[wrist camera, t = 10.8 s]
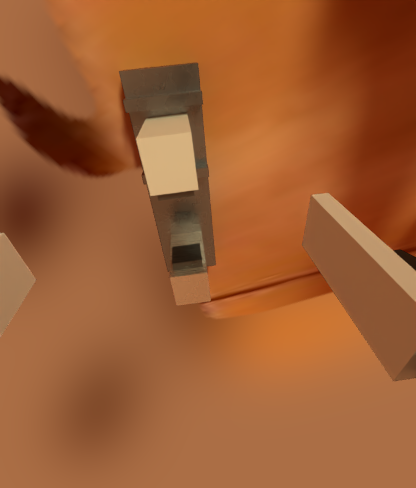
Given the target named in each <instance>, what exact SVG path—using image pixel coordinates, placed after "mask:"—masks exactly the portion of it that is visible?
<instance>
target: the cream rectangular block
mask: <svg viewBox="0 0 416 488" xmlns="http://www.w3.org/2000/svg"><path fill="white" fill-rule="evenodd" d="M136 141H137V145H138V149H139V153H140V157H141V161H142V165H143V169H144V173H145V177H146V181H147V184H148V188H149V192H150V196H155V195H157V197H158V201H161V200H168V199H176V198H183V197H191V196H194V190H199V189H198V182H197V174H196V166H195V158H194V150H193V142H192V134H191V129H190V124H189V120H188V115H187V113H181V114H174V115H166V116H158V117H150V118H146V119H145V121H144V124H143V126H142V128H141V130H140V132H139V134H138V136H137V138H136Z"/></svg>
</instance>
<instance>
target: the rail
mask: <svg viewBox="0 0 416 488" xmlns="http://www.w3.org/2000/svg"><path fill="white" fill-rule="evenodd" d="M119 74H120V78H121V82H122V86H123V90H124V94H125V99H124V100H123V103H124V107H125V111H126V113H129V115H130V119H131V123H132V127H133V131H134V135H135V139H136V138H137V136H138V134H139V132H140V130H141V128H142V126H143V124H144V121H145V119H146V118H150V117H158V116H166V115H174V114H181V113H187V115H188V120H189V124H190V129H191V134H192V142H193V150H194V158H195V166H196V174H197V182H198V189H199V190H194V196H191V197H183V198H176V199H168V200H161V201H158V197H157V195H155V196H150V192H149V188H148V184H147V181H146V177H145V173H144V169H143V173H142V178H143V183H144V184H147V188H148V192H149V196H150V201H151V205H152V208H153V213H154V217H155V221H156V225H157V229H158V233H159V237H160V241H161V246H162V250H163V254H164V258H165V261H166V266H167V270H168V272H169V271H170V281H171V285H172V289H173V293H174V297H175V301H176V305H177V306H178V305H185V304H192V303H200V302H207V301H211V298H210V289H209V280H208V272H207V266H214V265H216V261H215V250H214V239H213V227H212V216H211V204H210V193H209V182H208V177H209V170H208V165H207V159H206V148H205V136H204V125H203V114H202V104H203V100H202V91H201V90H200V79H199V68H198V63H187V64H178V65H169V66H159V67H150V68H140V69H131V70H123V71H119ZM136 143H137V141H136ZM137 147H138V145H137ZM138 151H139V149H138ZM139 156H140V153H139ZM140 160H141V157H140ZM141 164H142V161H141ZM142 168H143V165H142Z"/></svg>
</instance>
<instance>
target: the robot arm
mask: <svg viewBox="0 0 416 488" xmlns="http://www.w3.org/2000/svg"><path fill="white" fill-rule="evenodd" d="M302 246H303V247H304V249H305V250H306V252H307V253H308V255H309V256H310V258H311V259H312V261H313V262H314V264H315V265H316V267H317V268H318V270H319V271H320V273H321V274H322V276H323V277H324V279H325V280H326V282H327V283H328V285H329V286H330V288H331V289H332V291H333V292H334V294H335V295H336V297H337V298H338V300H339V301H340V303H341V304H342V305H343V307H344V308H345V310H346V311H347V313H348V314H349V316H350V317H351V319H352V320H353V322H354V323H355V325H356V326H357V328H358V329H359V331H360V332H361V334H362V335H363V337H364V338H365V340H366V341H367V343H368V344H369V345H370V347H371V349H372V350H373V352H374V353H375V355H376V356H377V358H378V359H379V361H380V362H381V364H382V365H383V366H384V368H385V370H386V371H387V373H388V374H389V375H390V377H391V378H392V380H393V381H398V380H406V379H412V378H416V257H414V256H412V255H410V254H408V253H406V252H404V251H402V250H392V249H391V248H390V247H388V246H387V245H386V244H385V243H384V242H383V241H382V240H381V239H379V238H378V237H377V236H376V235H375V234H374V233H373V232H372V231H370V230H369V229H368V228H367V227H366V226H365V225H364V224H363V223H362V222H360V221H359V220H358V219H357V218H356V217H355V216H354V215H353V214H351V213H350V212H349V211H348V210H347V209H346V208H345V207H344V206H342V205H341V204H340V203H339V202H338V201H337V200H336V199H335V198H333V197H332V196H331V195H330V194H329V193H322V194H314V195H311V197H310V203H309V209H308V214H307V220H306V226H305V232H304V237H303V243H302ZM35 281H36V278H35V277H34V276H33V274H32V273H31V271H30V270H29V268H28V267H27V265H26V264H25V263H24V261H23V260H22V258H21V257H20V255H19V254H18V252H17V251H16V250H15V248H14V247H13V245H12V244H11V242H10V241H9V239H8V238H7V236H6V235H5V234H4V233H0V337H1V335H2V334H3V332H4V330H5V329H6V327H7V326H8V324H9V323H10V321H11V319H12V318H13V316H14V315H15V313H16V312H17V310H18V308H19V307H20V305H21V304H22V302H23V300H24V299H25V297H26V296H27V294H28V292H29V291H30V289H31V288H32V286H33V284H34V283H35Z"/></svg>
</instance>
